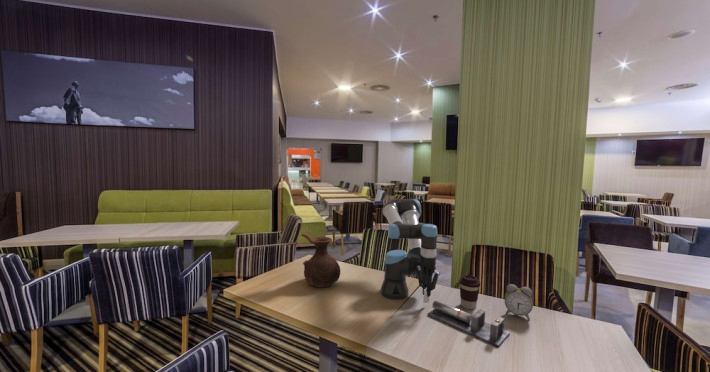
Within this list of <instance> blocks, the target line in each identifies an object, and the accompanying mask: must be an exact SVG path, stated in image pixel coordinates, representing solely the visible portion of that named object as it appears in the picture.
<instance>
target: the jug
mask: <svg viewBox="0 0 710 372" xmlns="http://www.w3.org/2000/svg"><path fill="white" fill-rule="evenodd" d="M301 236H302V237H304V238H305V239H306V240H308V242H309V243H311V244H313V245H314V247H315V251H314V254H313V255H312V256H311V257H310V258H309V259H308V260H305V261H303V262H302V265H303V267H304V269H303V276H304V279H305V281H306V283H307V284H308V285H311V286H314V287H316V288H327V287H330V286H332V285H333V284H335V283H336V282H338V280H339V279H340V276H341V267H340V265H339V262H338V260H336V259H335V258H334V257H333V256H332V255H331V254H329V252H328V245H329V243H331V242H332V241H333V239H332V238H331V237H329V236H314V237H313V236H311V235H310V234H309V233H305V232H302V233H301Z"/></svg>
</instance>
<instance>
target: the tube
mask: <svg viewBox="0 0 710 372" xmlns="http://www.w3.org/2000/svg"><path fill="white" fill-rule="evenodd" d="M431 306H432V308H433V310H434V309H436V310H438V311H441V312H443V313H445V314H448V315H450V316H452V317H455V318H457V319H459V320H462V321H464V322H466V323H469V324H471V316H472V315H473V314H471V313H468V312H466V311H464V310H463V309H462V310H461V309H459V308H456V307H454V306H451V305H448V304H446V303H443V302H441V301H439V300H434V301H433V302H432V305H431Z"/></svg>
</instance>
